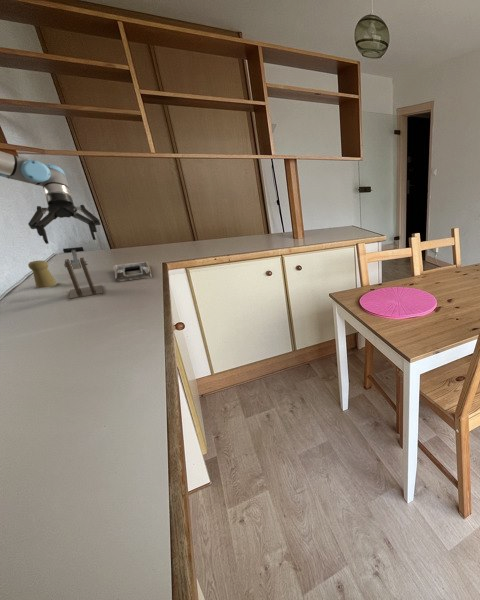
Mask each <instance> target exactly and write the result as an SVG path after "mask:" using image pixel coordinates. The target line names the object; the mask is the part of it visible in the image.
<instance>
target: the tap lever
mask: <svg viewBox="0 0 480 600" xmlns="http://www.w3.org/2000/svg"><path fill="white" fill-rule="evenodd" d="M62 251H63V253H64V254H70V253H71V257H72V259H70V263H71V266H72V269H73V270H80V269H82V265H81V262H80V258H78V256H77V255H78V253H79V252H84V251H85V249H84V247H83V246H78V247H77V246H76V247H67V248H66V247H65V248H62Z"/></svg>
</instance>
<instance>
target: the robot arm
mask: <svg viewBox="0 0 480 600" xmlns="http://www.w3.org/2000/svg"><path fill="white" fill-rule="evenodd" d="M0 177H2V178H6V179H7V180H9V179H10V180H14V181H17V182H18V181H19V182H22V183H27V184H31V185H34V186H40V187H42V189H43V192H44V196H45V200H46V203H47V207H42V206H41V205H37V206H36V210H35V212H34V214H33V216H32V217H31V219H30V221H29V222H28V223H27V225H28V227H29V229H31V230H36V232H37V234H38V236H39V237H42V240H43V243H45V244H46V245H49V240H48V235H47V231H46V229H45V228H46V227H47V226H48V225H49V224H50V223H51V222H53V221H55V220H56V219H58V218H59V219H63V218H74V219H77V220H79V221H81V222H83V223H85V224H86V225H88V228H89V231H90V234H91V238H92V240H93V241H96V235H95V233H97V232H98V230H97V226H101V225H102V224H101V221H100V219H98V217H96V216H95V215H94V214H93V213H92V212H90V211H89V210H88V209H87V208H86V206H85V205H84V204H80V205H79V206H75V204H74V200H73V196H72V193H71V190H70V187H69V183H68V178H67V176H66V173H65V171H64V170H63V169H62V168H61V167H59V166H58V165H55V164H47V163H45V164H44V163H43V162H42V161H38V160H35V159H27V158H24V157H22V156H17V155H13V154H12V153H8V152H4V151H1V150H0ZM78 211H79V212H81V213H83V214H84V215H85V216H84V215H83V214H81V213H79V212H78ZM47 212H48V213H47ZM46 213H47V214H46ZM44 215H45V216H44ZM86 216H87V217H86Z"/></svg>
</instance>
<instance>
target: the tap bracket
mask: <svg viewBox="0 0 480 600" xmlns="http://www.w3.org/2000/svg"><path fill="white" fill-rule="evenodd" d="M79 261H80V264H81V269H82V271H83V273H84V276H85V278H86V282H87V284H88V286H86V287H80V284H79V282H78V279H77V276H76V274H75V272H74V271H75V270H74V269H73V267H72V265H71V260H70V259H69V258H67V259H64V263H63V266H64V268H66V270H67V272H68V275H69V278H70V280H71V282H72V284H73V288H74V289H70V292H69V297H68V298H69V300H73V299H80V298H85V297H92V296H97V295H102V294H103V286H102V284H99V285H94V281H93V279H92V277H91V274H90V271H89V267H88V261H87V260H85V257H80V258H79Z"/></svg>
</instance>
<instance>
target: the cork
mask: <svg viewBox="0 0 480 600" xmlns="http://www.w3.org/2000/svg"><path fill="white" fill-rule="evenodd" d="M27 266H28V268H29V269H30V271H32V274H33V278H34V282H35V287H36V288H38V289H40V288H42V289H43V288H50V287H53V286H57V284H58V283H57V281H56V280H55V278H54V276H53V275H52V274H51V272H50V270H49V264H48V262H47V261H46V260H33V261H30V262H28V264H27Z"/></svg>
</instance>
